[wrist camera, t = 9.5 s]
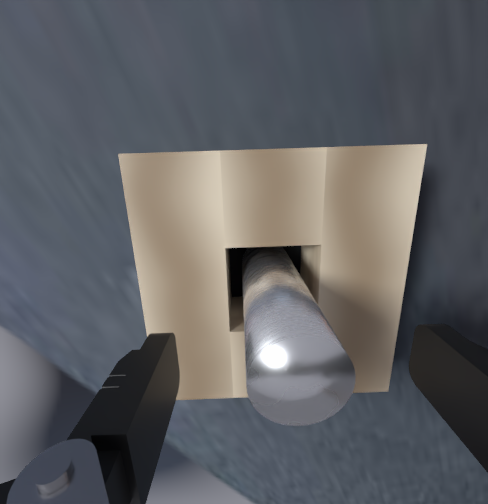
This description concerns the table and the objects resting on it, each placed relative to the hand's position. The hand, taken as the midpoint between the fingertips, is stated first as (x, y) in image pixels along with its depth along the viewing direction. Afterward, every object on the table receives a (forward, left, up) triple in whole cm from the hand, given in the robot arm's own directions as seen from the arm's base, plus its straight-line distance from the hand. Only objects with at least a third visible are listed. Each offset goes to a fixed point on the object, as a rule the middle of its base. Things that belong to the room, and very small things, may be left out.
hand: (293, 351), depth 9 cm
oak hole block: (0, 0, -8) cm, 8 cm away
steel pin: (0, 0, -8) cm, 8 cm away
